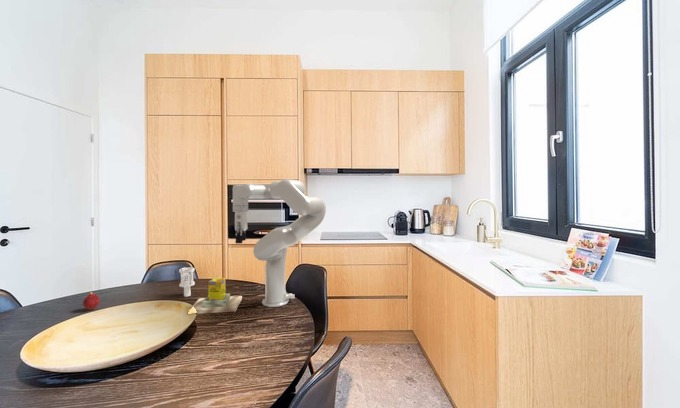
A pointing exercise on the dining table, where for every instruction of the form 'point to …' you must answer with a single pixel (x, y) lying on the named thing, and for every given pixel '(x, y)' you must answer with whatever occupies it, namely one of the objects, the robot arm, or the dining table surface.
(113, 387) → the dining table surface
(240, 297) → the grey flat piece
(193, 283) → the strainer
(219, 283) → the supplement box
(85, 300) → the onion
